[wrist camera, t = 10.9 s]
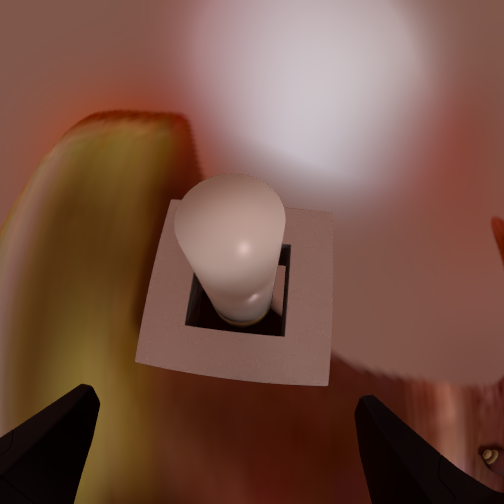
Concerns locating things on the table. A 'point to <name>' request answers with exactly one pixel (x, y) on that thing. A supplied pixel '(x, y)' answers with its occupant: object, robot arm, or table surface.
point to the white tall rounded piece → (233, 244)
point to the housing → (243, 344)
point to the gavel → (495, 460)
